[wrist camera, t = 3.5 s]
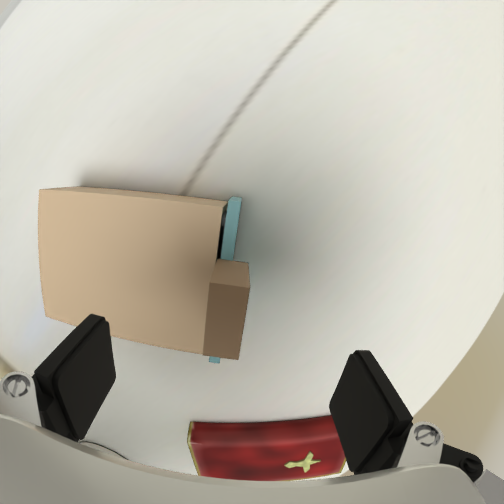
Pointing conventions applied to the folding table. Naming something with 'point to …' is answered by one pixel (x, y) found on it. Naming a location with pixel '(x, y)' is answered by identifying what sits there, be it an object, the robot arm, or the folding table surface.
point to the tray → (226, 293)
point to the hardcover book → (267, 449)
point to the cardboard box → (129, 261)
